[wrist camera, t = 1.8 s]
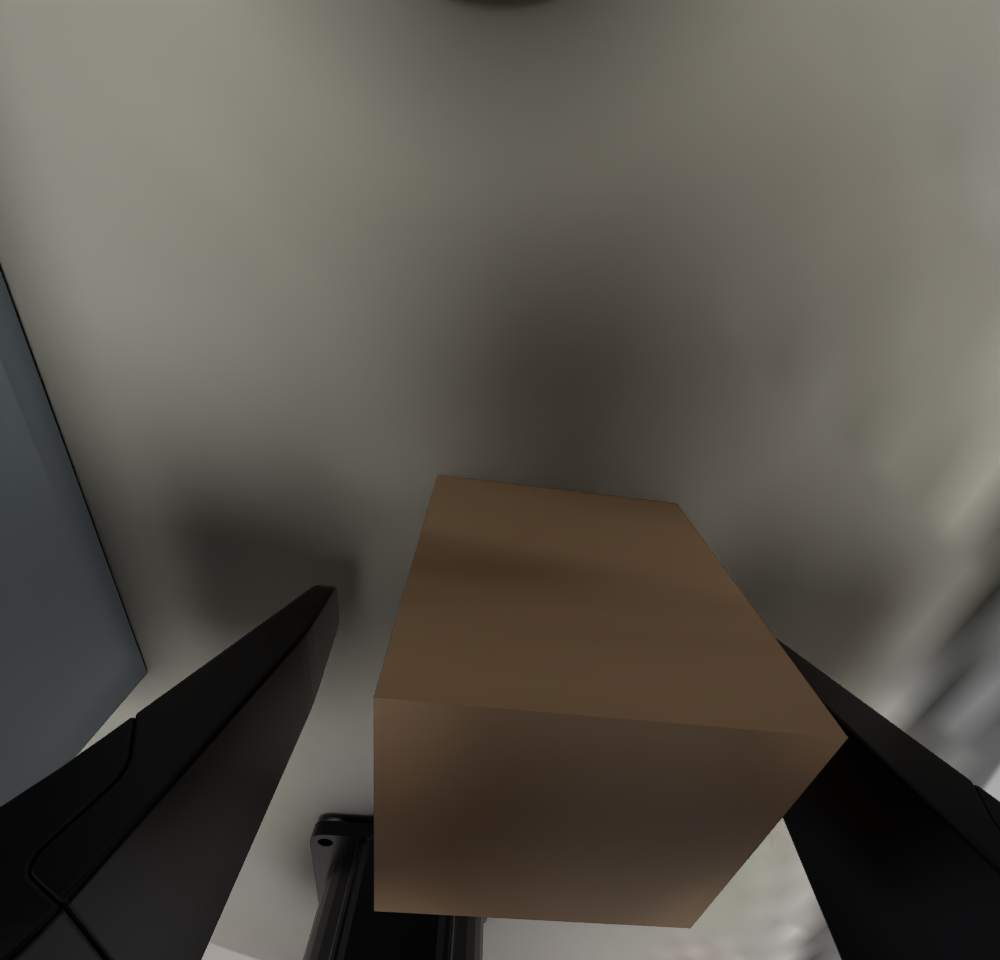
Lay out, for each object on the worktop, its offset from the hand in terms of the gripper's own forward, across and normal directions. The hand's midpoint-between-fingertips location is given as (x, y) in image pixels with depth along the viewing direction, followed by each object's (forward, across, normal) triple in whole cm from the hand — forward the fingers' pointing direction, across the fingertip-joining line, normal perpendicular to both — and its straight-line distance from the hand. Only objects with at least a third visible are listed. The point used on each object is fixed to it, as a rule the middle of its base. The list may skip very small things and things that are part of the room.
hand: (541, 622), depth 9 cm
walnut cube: (+1, 0, 0) cm, 1 cm away
